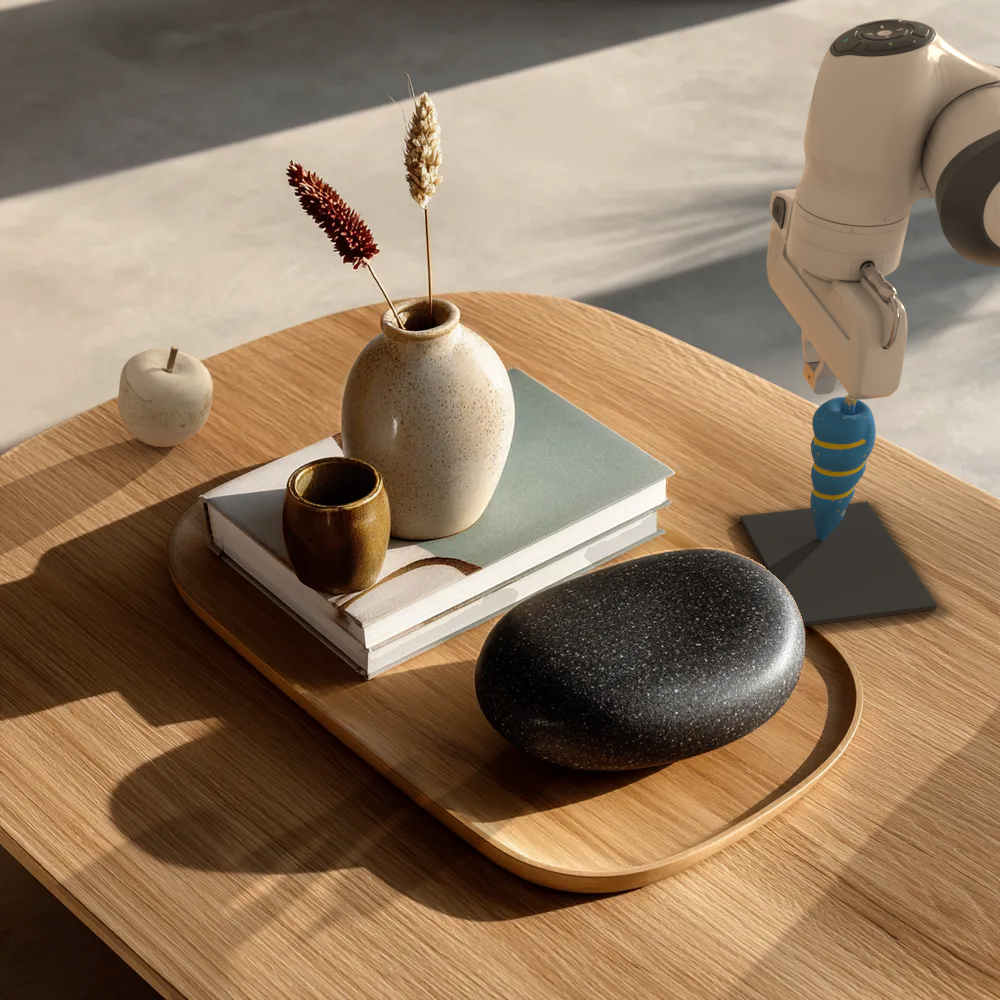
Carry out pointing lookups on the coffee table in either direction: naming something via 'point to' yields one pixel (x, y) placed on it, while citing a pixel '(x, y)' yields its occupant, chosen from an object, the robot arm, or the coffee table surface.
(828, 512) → the ornament
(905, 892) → the coffee table surface
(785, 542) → the mat
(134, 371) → the decorative object
